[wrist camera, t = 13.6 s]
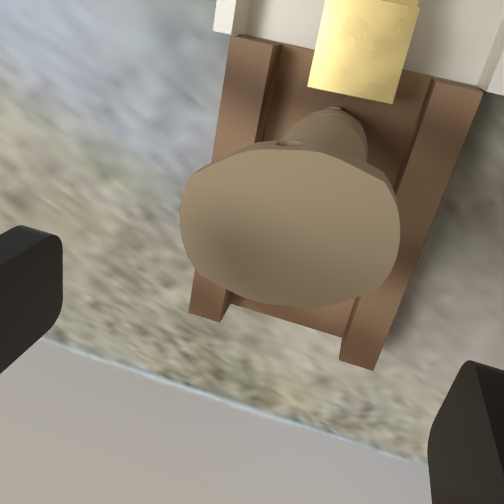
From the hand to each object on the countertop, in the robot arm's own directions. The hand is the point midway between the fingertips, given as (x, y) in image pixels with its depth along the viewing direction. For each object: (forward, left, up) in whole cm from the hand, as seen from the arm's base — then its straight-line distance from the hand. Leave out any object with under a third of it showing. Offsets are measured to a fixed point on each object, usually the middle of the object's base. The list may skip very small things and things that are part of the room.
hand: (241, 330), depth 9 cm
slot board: (+5, 0, -22) cm, 22 cm away
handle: (0, 0, -20) cm, 20 cm away
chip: (-4, 0, -20) cm, 21 cm away
